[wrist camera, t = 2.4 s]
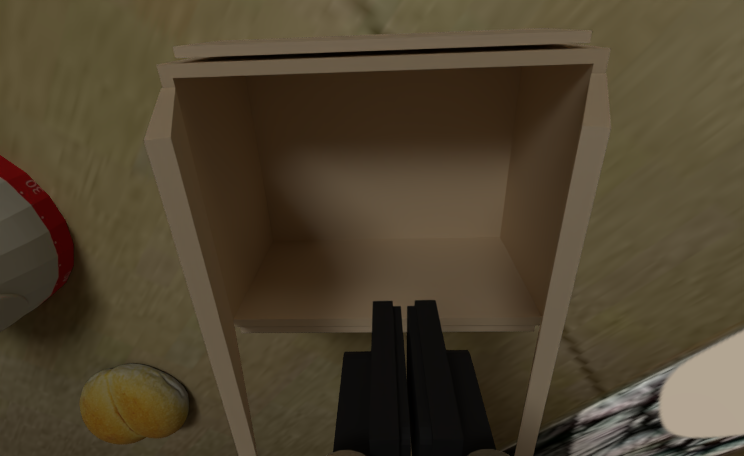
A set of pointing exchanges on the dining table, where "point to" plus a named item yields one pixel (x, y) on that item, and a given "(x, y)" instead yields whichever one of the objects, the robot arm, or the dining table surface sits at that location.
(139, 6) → the dining table surface
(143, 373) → the bread roll
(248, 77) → the carton
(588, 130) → the flap
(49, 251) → the kitchen timer
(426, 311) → the robot arm
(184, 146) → the flap
